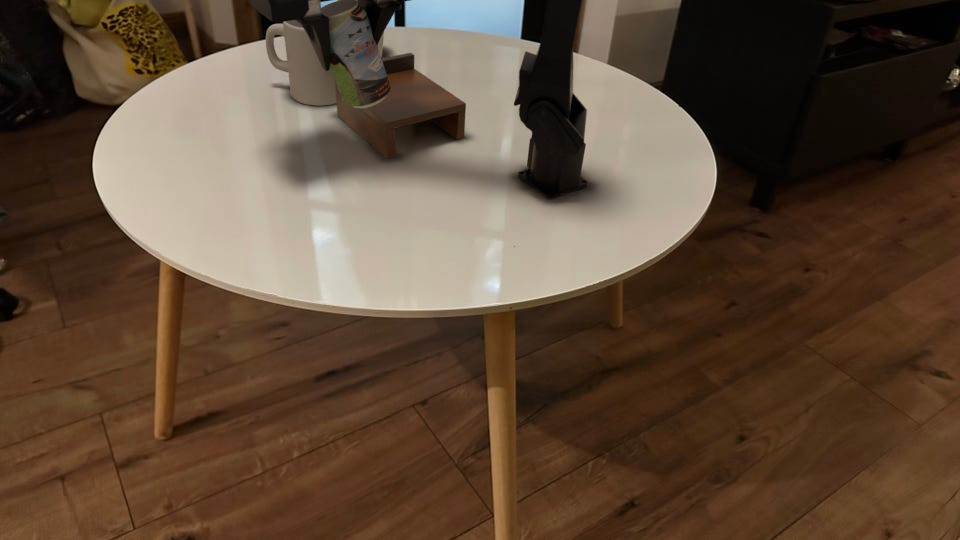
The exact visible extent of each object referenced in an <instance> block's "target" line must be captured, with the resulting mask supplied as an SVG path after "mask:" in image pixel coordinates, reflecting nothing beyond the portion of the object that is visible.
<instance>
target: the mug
mask: <svg viewBox="0 0 960 540" xmlns="http://www.w3.org/2000/svg"><path fill="white" fill-rule="evenodd" d="M275 36H282V37H283V38H284V43H285V46H284V47H285V53H286V60H283V59H282V58H280V57H279V56H278V54H277V52H276V48H275ZM265 48H266V54H267V57H268V60H269V62H270V64H271V65H272V66H273V67H274V68H275V69H276V70H279V71H281V72H285V73H288V81H289V91H290V95H291V97H292V98H293V100H294V101H296V102H298V103H301V104H303V105H308V106H331V105H335V104H337V102H336V87H335V78H334V75H333V73H332V70H331V67H330V70H329V71H326V70H324V69H323V68H322V66H321V64H320V61H319V59H318V57H317V55H316V53H315V50H314V48H313V46H312V44H311V42H310V39H309V37H308V35H307V33H306V32H305V30H304V28H303V27H302V25H301V24H300V23H299V22H297V21H296V20H291V21H285V22H282V23H274V24H271V25H270V26H269V27H268V28H267V30H266V33H265Z"/></svg>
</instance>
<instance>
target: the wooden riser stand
mask: <svg viewBox="0 0 960 540" xmlns="http://www.w3.org/2000/svg"><path fill="white" fill-rule="evenodd" d="M381 59H382V62H383V65H384V68H385V71H386V74H387V77H388V80H389V83H390V87H391V89H390V91H389V93H388V94H387V95H386V97H385V99H384V100H383V101H381V102H380V103H378V104H376V105H374V106H371V107H367V108H354V107H352V106H348V105H346V104H345V103H344V102H343V99H342V97H341V94H340V91H339V89H338V86H337V83H336V81H335V87H336V102H337V103H336V112H337V117H338V118H339V119H341V121H343V122H344V123H345V124H346V125H348V126H349V127H350V128H351V129H352V130H353V131H354V132H356V133H357V134H358V135H359V136H360V137H361V138H363V140H365V141H366V142H367V143H369V145H371V146H372V147H373V148H374V149H375V150H377V151H378V152H379V153H380V154H381V155H382V156H383V157H384V158H386V159H392V158H395V157H396V129H398V128H401V127H406V126H409V125H414V124H417V123H421V122H425V121H429V120H430V121H431V122H433V123H434V124H436V125H437V126H438V127H440V128H441V129H442V130H443V131H445V132H446V133H448V134H449V135H451V136H452V137H453V138H454V139H456V140H460V139H463V138H465V132H466V131H465V130H466V110H467V103H466V102H465V101H463V100H462V99H461V98H459V97H458V96H456V95H454V94H453V93H451V92H449V90H447V89H446V88H445V87H442V86H441V85H439V84H438V83H437V82H435V81H433V80H432V79H431V78H429V77H427V76H426V75H425V74H423V73H421V72H420V71H419V70H417V69H415V54H413V53H412V52H408V53H407V52H406V53H402V54H397V55H392V56H387V57H383V58H382V57H381Z"/></svg>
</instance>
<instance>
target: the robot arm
mask: <svg viewBox="0 0 960 540" xmlns="http://www.w3.org/2000/svg"><path fill="white" fill-rule="evenodd" d="M330 1H332V0H251V4H252V8H253V9H254V10H256V11H257V12H259V13H260V14H261V15H262V16H264V17H265V18H267V19H268V20H269V21H271V22H273V23H283V22H285V21H291V20H296V21H297V22H299V23H300V24H301V25H302V27H303V28H304V30H305V32H306V33H307V35H308V37H309V39H310V42H311V44H312V46H313V48H314V50H315V53H316V55H317V57H318V59H319V61H320V64H321V66H322V68H323V69H324V70H326V71H329V70H330V61H331V56H330V30H329V17H327V16H326V15H324V14H322V13H321V8H322V4H321V3H324V2H330ZM357 1H358V4H359V5H360V6H361V7H362V8H364V9H365V11H366V13H367V16H368V19H369V22H370V25H371V29H372V34H373V39H374V40H375V42H376V44H377V45H378V43H379V41H380V39H381V37H382V34H383V32H384V33H385V30H386V28H387V27H388V25H389V23H390V21H391V19H392V18H393V16H394V14H395V13H396V12H397V11H400V10H402V6H403V5H402V3H401V2H400V1H397V0H357ZM410 1H411V0H403V2H410ZM582 1H583V0H547V1H546V7H545V12H544V18H543V24H542V31H541V37H540V43H539V46H538V49H537V51H536V54H535V53H532V52H530V51H524V54H523V58H522V61H521V64H520V67H519V71H518V89H517V90H516V91H517V92H516V95H515V99H514V101H513V105H514V106H515V107H517V106H519V107H518V116H519V120H520V122H521V123H522V124H523V125H524V126H525V128H526V129H528V130H529V131H531V137H530V138H529V144H528V153H527V161H526V167H527V168H526V169H523V170H520V171H518V172H517V177H518V178H519V179H520V180H522V181H523V182H525V183H526V184H527V185H529V186H530V187H531V188H533V189H534V190H536V191H537V192H538V193H540V194H541V195H542V196H543V197H545V198H547V199H549V200H552V199H556V198H558V197H560V196H564V195H567V194H569V193H573V192H575V191H578V190H580V189H584V188H586V187H588V185H589V181H588V180H587V179H585V178H584V177H583V176H581V175H582V169H583V163H584V157H585V152H586V147H587V144H586V142H585V136H586V124H587V115H588V110H587V108H586V107H585V105H584V104H583V103H582V102H581V100H580V99H579V98H578V96H576V95H575V93H574V43H575V38H576V33H577V28H578V24H579V23H578V22H579V17H580V12H581V7H582Z"/></svg>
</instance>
